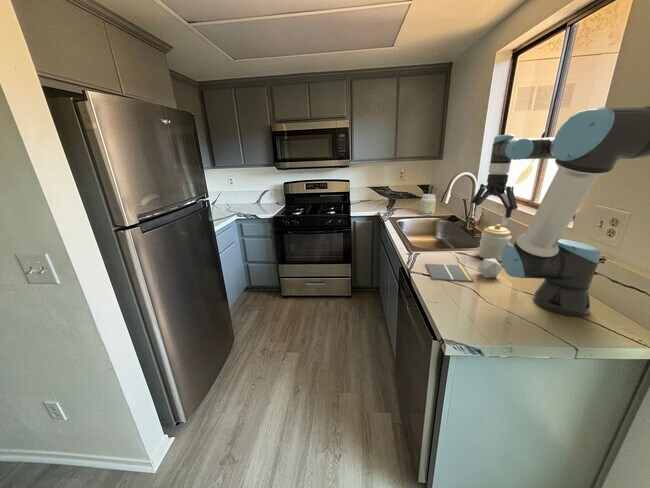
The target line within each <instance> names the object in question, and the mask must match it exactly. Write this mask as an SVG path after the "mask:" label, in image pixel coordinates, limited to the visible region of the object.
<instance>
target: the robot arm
mask: <svg viewBox="0 0 650 488" xmlns="http://www.w3.org/2000/svg"><path fill="white" fill-rule="evenodd" d="M647 157H650V106H649V105H647V106H634V107H632V106H630V107H598V108H595V109H594V108H593V109H586V110H585V109H584V110H580V111H578V112H576V113H574V114H573V115H571V116H569V117H568V118H567V119H566V120H565V121H564V122H563V123H562V124H561V125H560V127H559V128H558V130H557V132H556V133H555V135H554V137H542V138H541V137H536V138H535V137H532V138H531V137H529V138H526V137H517V138H516V135H515V134H500V135H496V136H494V139H493V144H492V148H491V155H490V162H489V165H488V166H489V167H488V173H489V174H487V179H486V183H481V184H480V186H479V189H478V190H477V192H476V194H475V195H474V197H473V199H472V200H471V203H472V204H474V212H475V213H474V217H473V218H474V220H480V219H481V215H482V214H481V213H482V207H483V204H482V203H483V202H485V200H486V199H487V198H488V197H490V196H495V197H496V196H498V198H499V199H500V201H501V202H502V205H503V206H504V208H505V209H504V210H503V214H502V220H501V224H500V225H501V226H507V225H508V223H509V219H510V218H511V216H512V212H513V211H514V210H517V209H518V204H517V200H516V197H515V193H514V186H513V185H509V186H507V183H508V180H509V173H510V170H511V169H510V168H511V163H512V160H513V161H516V160H517V161H519V160H536V159H537V160H538V159H539V160H545V159H546V160H547V159H548V160H549V159H553V160H554V163H555V164H556V166H557V167H558V168H557V170H556V172H555V174H554V176H553V178H552V180H551V182H550V184H549V186H548V188H547V189H546V191H545V194H544V196H543V198H542V199H541V202H540V204H539V206H538V207H537V210H536V212H535V214H534V215H533V218H532V219H531V222H529V223H530V224H529V226H528V228H527V229H526V230H525V233H522V234H519V235H518V236H517V237H516V239H515V241H514V242H513V243H510V244H507V245H505V246H504V247H503V250H502V261H501V263H502V267H503V270H504V271H505V273H506V274H507V275H508V276H509V277H512V278H519V279H544V280H543V281H542V282H541V284H540V285H539V286H538V288H537V289H536V290H535V292H534V294H533V297H532V298H533V301H534V302H535V303H536V304H537V305H538V306H539V307H542V308H543V309H545V310H547V311H550V312H553V313H556V314H559V315H564V316H568V317H584V316H585V317H586V316H587V315H588V314H589V312H590V309H591V303H590V295H589V290H590V288H591V284H592V281H593V279H594V275H595V273H596V270H597V267H598V265H599V264H600V262H599V261H600V257H601V252H600V250H599V249H598V248H596V247H595V246H592V245H589V244H587V243H583V242H579V241H575V240H569V239H561V238H562V236H563V235H564V233H565V231H566V229H568V226H569V225H570V223H571V221H572V220H573V219H574V216H575V215H576V214H577V212H578V211H579V209H580V207H581V206H582V204H583V202H584V201H585V199H586V198H587V195H589V193H590V191H591V190H592V189H593V187H594V184H595V183H596V181H597V180H598V178H599V176H600V177H601V176H602V175H606V174H609V173H610V172H611V171H612V170H613V168H614V167H615V165H616V164H617V162H618V161H619V160H634V159H643V158H647Z"/></svg>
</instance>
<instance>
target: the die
mask: <svg viewBox="0 0 650 488" xmlns="http://www.w3.org/2000/svg"><path fill="white" fill-rule="evenodd" d="M477 270H478V271H479V273H480V274H481V275H482V276H483V277H484V278H485V279H487V278H491V279H492V278H497V277H498V276H499V274H500V273H501V271H502V270H504V267H503V265H501V264H500V263H499V261H497V260H496V259H484V258H483V260H482V261H481V262H480V263H479V265H478V267H477Z"/></svg>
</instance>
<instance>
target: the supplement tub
mask: <svg viewBox="0 0 650 488" xmlns="http://www.w3.org/2000/svg"><path fill="white" fill-rule="evenodd" d="M436 206H437V198H436V194H434V193H424V194H422V197H421V199H420V206H419V214H420V215H421V214H422V215H421V216H424V215H432V216H434V215H435V213H436ZM433 214H434V215H433Z"/></svg>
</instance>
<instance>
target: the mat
mask: <svg viewBox="0 0 650 488" xmlns="http://www.w3.org/2000/svg"><path fill="white" fill-rule="evenodd" d="M425 266H426V268H427V271H428V274H429V276H430V279H431V280H433V281H450V282H451V281H453V282H467V283H469V282H470V283H475V279H474V278H473V277H472V276H471V274H470V273H469V272H468V270H467V269H466V267H465V266H464V265H461V264H458V265H456V264H446V263H445V264H443V263H442V264H440V263H439V264H438V263H425Z"/></svg>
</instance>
